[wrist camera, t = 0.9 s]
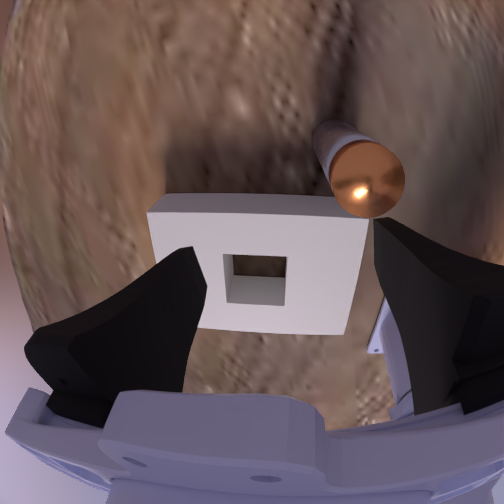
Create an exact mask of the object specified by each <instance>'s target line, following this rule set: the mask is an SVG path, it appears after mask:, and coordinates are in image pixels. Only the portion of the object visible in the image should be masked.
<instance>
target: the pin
mask: <svg viewBox="0 0 504 504" xmlns="http://www.w3.org/2000/svg"><path fill="white" fill-rule="evenodd" d="M312 146H313V149H314V151H315V153H316V155H317V157H318V159H319V162H320V164H321V166H322V168H323V170H324V173H325V175H326V177H327V179H328V182H329V184H330V186H331V189H332V191H333V193H334V196H335V198H336V200H337V201H338V203H339V204H340V206H341V207H342V208H343V209H345V210H346V211H347V212H349V213H351V214H353V215H355V216H358V217H364V218H370V217H376V216H379V215H382V214H384V213H386V212H387V211H389V210H390V209H391V208H393V207H394V206H395V204H396V203H397V202H398V201H399V199H400V197H401V195H402V193H403V190H404V185H405V175H404V170H403V167H402V164H401V162H400V161H399V159H398V158H397V157H396V155H395V154H394V153H393V152H391V151H390V150H389V149H387V148H386V147H384V146H382V145H381V144H379V143H378V142H376V141H375V140H373V139H371V138H370V137H368V136H367V135H365V134H363V133H362V132H360V131H358V130H357V129H355V128H353V127H352V126H350V125H348V124H347V123H345V122H343V121H340V120H336V119H330V120H326V121H324V122H322V123H320V124H319V125H318V126H317V127H316V128H315V130H314V132H313V135H312Z"/></svg>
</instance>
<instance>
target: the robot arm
mask: <svg viewBox="0 0 504 504" xmlns="http://www.w3.org/2000/svg"><path fill="white" fill-rule="evenodd" d="M373 224H374V265H375V269H376V272H377V276H378V279H379V283H380V286H381V288H382V290H383V293H384V295H385V297H384V300H383V304H382V307H381V310H380V313H379V316H378V319H377V322H376V325H375V327H374V330H373V333H372V336H371V339H370V341H369V344H368V347H367V352H368V353H384V357H385V361H386V365H387V370H388V374H389V378H390V383H391V387H392V392H393V396H394V401H395V406H394V407H392V408H391V409H389V412H390V418H391V421H388V422H383V423H377V424H372V425H366V426H360V427H353V428H346V429H338V430H329V431H325V424H324V418H323V417H322V415H321V414H320V413H319V412H318V410H317V409H316V408H315V407H314V406H313V405H311V404H309V403H306V402H304V401H301V400H298V399H295V398H292V397H290V396H286V395H272V394H260V393H250V394H203V393H182V390H183V383H184V376H185V371H186V365H187V360H188V356H189V352H190V348H191V345H192V342H193V339H194V336H195V333H196V330H197V327H198V324H199V321H200V318H201V315H202V312H203V309H204V305H205V300H206V293H207V287H208V286H207V283H206V280H205V278H204V275H203V272H202V270H201V267H200V264H199V262H198V259H197V256H196V254H195V251H194V248H193V246H190V247H183V248H179V249H177V250H175V251H174V252H172V253H171V254H169V255H168V256H166V257H165V258H164V259H162V260H161V261H160V262H159V263H157V264H156V265H155V266H153V267H152V268H151V269H150V270H148V271H147V272H146V273H144V274H143V275H142V276H140V277H139V278H138V279H136V280H135V281H133V282H132V283H131V284H129V285H128V286H127V287H125V288H124V289H122V290H121V291H119V292H118V293H116V294H114V295H113V296H111V297H110V298H108V299H106V300H104V301H103V302H101V303H99V304H97V305H95V306H93V307H91V308H89V309H87V310H85V311H83V312H81V313H79V314H77V315H74V316H72V317H69V318H67V319H64V320H62V321H59V322H56V323H53V324H50V325H47V326H44V327H40V328H38V329H37V330H36V331H35V332H34V334H33V335H32V337H31V338H30V339H29V341H28V342H27V343H26V345H25V346H24V351H25V355H26V358H27V359H28V361H29V363H30V364H31V366H32V367H33V368H34V369H35V370H36V372H37V373H38V374H39V375H40V376H41V377H42V378H43V379H44V381H45V382H46V383H47V384H48V385H49V386H50V387H51V388H52V389H53V392H52V394H51V396H50V395H48V394H47V393H45V392H43V391H40V390H37V389H34V388H28V390H27V392H26V393H25V395H24V397H23V399H22V400H21V402H20V404H19V406H18V408H17V410H16V411H15V413H14V415H13V417H12V419H11V421H10V423H9V424H8V427H7V428H6V431H5V433H6V435H8V436H9V437H10V438H11V439H12V440H14V441H15V442H16V443H17V444H19V445H20V446H21V447H23V448H24V449H25V450H27V451H28V452H29V453H31V454H32V455H34V456H35V457H36V458H38V459H39V460H41V461H42V462H44V463H45V464H47V465H49V466H51V467H53V468H54V469H56V470H58V471H60V472H62V473H64V474H66V475H68V476H70V477H72V478H74V479H77V480H79V481H80V482H83V483H85V484H87V485H89V486H92V487H94V488H96V489H98V490H101V491H103V492H106V493H108V494H109V495H108V499H107V501H106V504H494V502H493V497H492V492H491V490H492V488H493V487H494V485H495V484H496V483H497V481H498V480H499V479H500V477H501V476H502V474H504V266H502V265H498V264H493V263H489V262H486V261H482V260H479V259H476V258H473V257H469V256H467V255H464V254H461V253H459V252H456V251H454V250H451V249H449V248H447V247H444V246H442V245H440V244H438V243H436V242H434V241H432V240H430V239H428V238H426V237H424V236H423V235H421V234H419V233H417V232H415V231H414V230H412V229H410V228H408V227H406V226H405V225H403V224H401V223H399V222H398V221H396V220H394V219H392V218H389V217H385V218H378V219H373Z"/></svg>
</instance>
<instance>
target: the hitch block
mask: <svg viewBox="0 0 504 504" xmlns="http://www.w3.org/2000/svg"><path fill="white" fill-rule="evenodd" d="M147 218H148V223H149V229H150V234H151V239H152V244H153V249H154V254H155V259H156V263H159V262H160V261H161V260H162V259H164V258H165V257H166V256H168V255H169V254H171V253H172V252H174V251H175V250H177V249H179V248H183V247H190V246H193V248H194V251H195V254H196V256H197V259H198V262H199V264H200V267H201V270H202V272H203V275H204V278H205V280H206V283H207V286H208V287H207V293H206V300H205V305H204V309H203V312H202V315H201V318H200V321H199V324H198V327H199V328H209V329H220V330H233V331H247V332H263V333H283V334H314V335H344V331H345V327H346V324H347V320H348V316H349V312H350V308H351V304H352V300H353V296H354V292H355V287H356V283H357V279H358V274H359V269H360V265H361V260H362V255H363V250H364V245H365V239H366V234H367V228H368V222H369V218H364V217H358V216H355V215H353V214H351V213H349V212H347V211H346V210H345V209H343V208H342V207H341V206H340V204H339V203H338V201H337V200H336V198H335V197H327V196H308V195H284V194H249V193H169V194H164V195H163V196H162V197H161V198H160V199H159V200H158V201H157V202H156V203H155V204H154V205H153V207H152V208H151V209H150V210H149V211H148V212H147ZM233 254H237V255H261V256H285V257H286V271H285V278H282V277H260V276H239V275H234V268H233Z"/></svg>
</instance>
